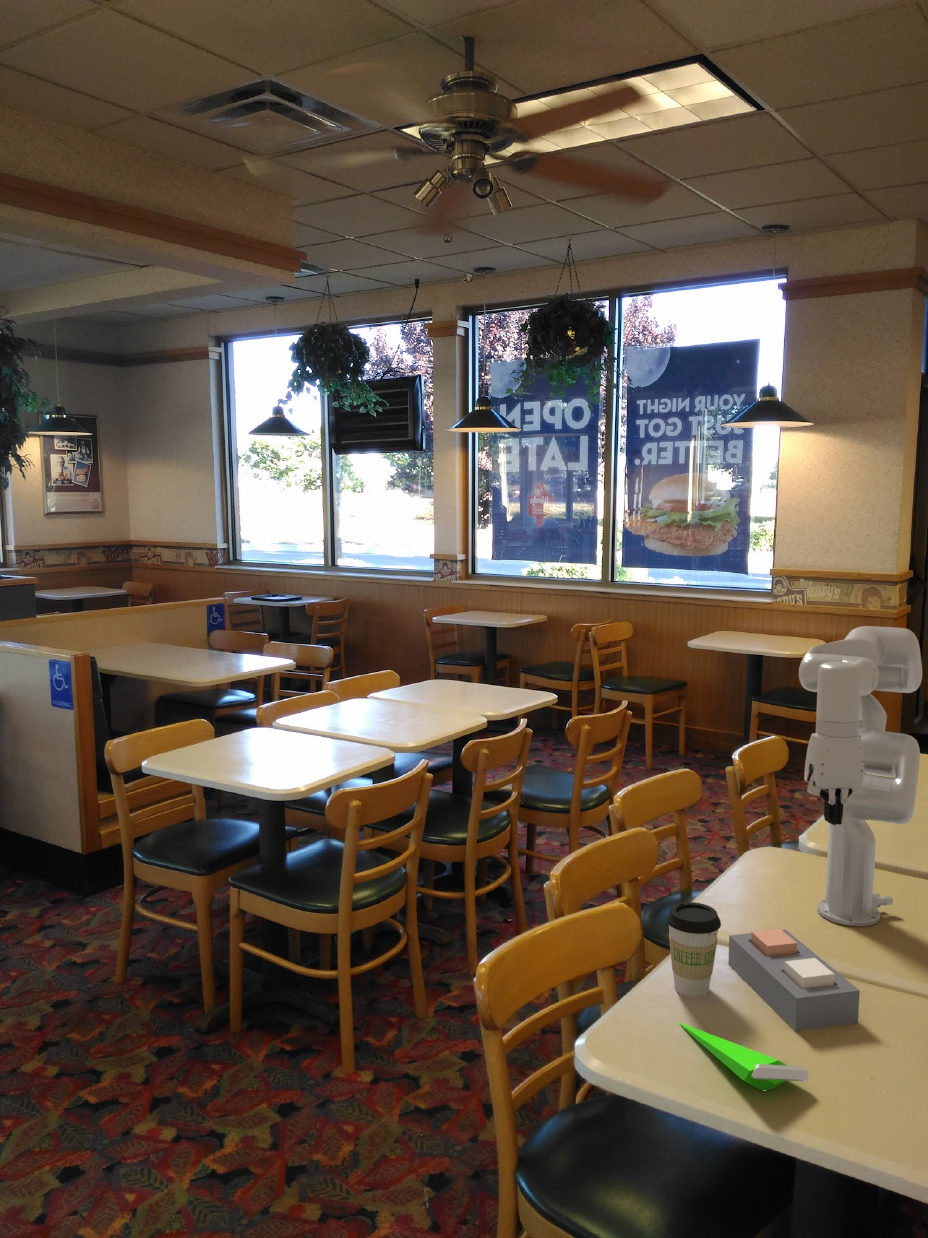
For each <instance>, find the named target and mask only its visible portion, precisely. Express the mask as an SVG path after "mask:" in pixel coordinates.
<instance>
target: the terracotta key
mask: <svg viewBox="0 0 928 1238" xmlns="http://www.w3.org/2000/svg"><path fill="white" fill-rule="evenodd" d="M782 930H783V929H781V928H777V929H775V928H774V929H766V930H765V929H764V930H758V931H757V930H755V931H751V932H750V933H751V943H752V944H753V945H754V946H755V947H756V948H757V949H758V950H759V951H760V952H761V953H762V954H764V955H765V956H766V957H770V956H778V955H787V954H796V953H797V943H796V942H795V941H794V940H793V939H792V938H790V937H789V936H788V935H787V934H786V933H784V932H783V931H782Z"/></svg>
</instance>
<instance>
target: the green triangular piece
mask: <svg viewBox="0 0 928 1238" xmlns="http://www.w3.org/2000/svg"><path fill="white" fill-rule="evenodd" d="M677 1024H679V1026H680V1027H682V1028H683V1029H684V1030H685V1031H686V1032H687V1033H688V1034H690V1036H692V1037H693V1038H695V1040H697V1041H698V1042H699V1043H700V1045H702V1046H703V1047H704V1048H706V1049H707V1050H708V1051H709V1052H710V1053H711V1054H713V1056H714V1057H715V1058H716V1059H718V1060H719V1061H720V1062H721V1063H723V1064H724V1065H725V1066H726V1068H728V1069H730V1070H731V1071H732V1072H733V1073H734V1074H735V1075H737V1077H738V1078H740V1079H741V1080H742V1081H743V1082H745V1083H747V1084H749V1085H751V1086H752V1087H754V1088H756V1089H758V1090H760V1089H761V1090H767V1091H769V1090H771V1089H773V1088H776V1087H777V1085H778V1086H780V1085H782V1084H785V1083H786V1081H787V1082H788V1081H789V1082H791V1081H792V1082H804V1081H808V1078H809V1077H808V1076H809V1070H808V1069H806V1068H805V1067H803V1066H799V1065H788V1064H786V1063H784V1062H782V1061H781V1060H779V1059H778V1058H777V1059H776V1058H774V1057H771V1056H769V1055H767V1054H766V1055H765V1054H764V1053H761V1052H759V1051H756V1050H754V1049H750V1048H747V1047H745V1046H742V1045H739V1044H736V1043H735V1042H731V1041H729V1040H727V1039H724V1038H721V1037H718V1036H716V1035H714V1034H710V1033H708V1032H706V1031H704V1030H700V1029H698V1028H696V1027H695V1028H694V1027H693V1026H689V1025H687V1024H684V1023H682V1022H679V1021H678V1022H677ZM781 1083H782V1084H781ZM779 1084H780V1085H779ZM775 1086H776V1087H775ZM772 1087H773V1088H772ZM770 1088H771V1089H770ZM768 1089H769V1090H768ZM761 1090H760V1091H761Z"/></svg>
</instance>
